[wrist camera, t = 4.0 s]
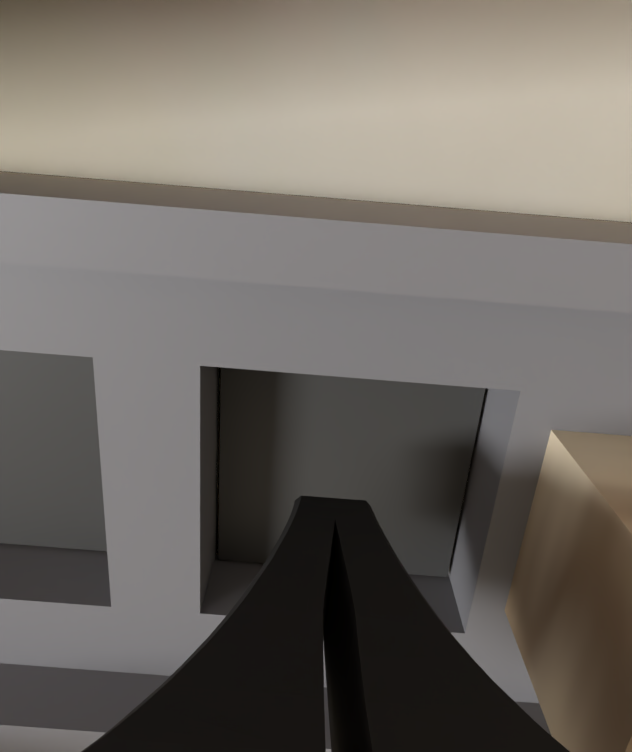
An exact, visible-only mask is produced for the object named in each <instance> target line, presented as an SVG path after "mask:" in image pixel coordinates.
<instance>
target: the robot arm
mask: <svg viewBox="0 0 632 752" xmlns="http://www.w3.org/2000/svg"><path fill="white" fill-rule="evenodd" d="M323 641H324V656H325V670H326V685H327V698H328V712H329V726H330V740H331V752H570V751H569V750H567V749H566V748H565V747H564V746H563V745H562V744H560V743H559V742H558V741H557V740H556V739H555V738H553V737H552V736H551V735H550V734H549V733H547V732H546V731H545V730H544V729H543V728H542V727H541V726H540V725H539V724H538V723H536V722H535V721H534V720H533V719H532V718H531V717H530V716H529V715H528V714H527V713H526V712H525V711H524V710H523V709H522V708H521V707H520V706H519V705H518V704H517V703H516V702H515V701H514V700H512V699H511V698H510V697H509V696H508V695H507V694H506V693H505V692H504V691H503V690H502V689H501V688H500V687H499V686H498V685H497V684H496V683H495V682H494V681H493V680H492V679H491V678H490V677H489V676H488V675H487V674H486V672H485V671H484V670H483V669H482V668H481V667H480V666H479V665H478V664H477V663H476V662H475V661H474V659H473V658H472V657H471V656H470V655H469V654H468V653H467V651H466V650H465V649H464V648H463V647H462V646H461V644H460V643H459V642H458V641H457V640H456V639H455V637H454V636H453V635H452V634H451V632H450V631H449V630H448V629H447V627H446V626H445V625H444V624H443V622H442V621H441V620H440V618H439V617H438V616H437V614H436V613H435V612H434V610H433V609H432V608H431V606H430V605H429V603H428V602H427V601H426V599H425V598H424V597H423V595H422V594H421V592H420V591H419V589H418V588H417V586H416V585H415V584H414V582H413V580H412V579H411V577H410V576H409V574H408V573H407V571H406V569H405V568H404V566H403V565H402V563H401V562H400V560H399V558H398V557H397V555H396V553H395V552H394V550H393V548H392V547H391V545H390V543H389V541H388V540H387V538H386V536H385V534H384V532H383V530H382V528H381V527H380V525H379V523H378V521H377V519H376V516H375V514H374V512H373V510H372V508H371V506H370V505H369V503H368V502H367V501H366V500H353V499H340V498H327V497H314V496H300V497H299V498H297V499H296V500H295V502H294V506H293V509H292V512H291V515H290V517H289V519H288V522H287V524H286V526H285V528H284V530H283V532H282V534H281V536H280V538H279V539H278V541H277V543H276V544H275V546H274V548H273V550H272V551H271V553H270V555H269V556H268V558H267V560H266V561H265V563H264V565H263V566H262V568H261V569H260V571H259V572H258V574H257V575H256V576H255V578H254V579H253V581H252V582H251V583H250V585H249V586H248V588H247V589H246V591H245V592H244V593H243V595H242V596H241V598H240V599H239V600H238V602H237V603H236V604H235V605H234V607H233V608H232V609H231V611H230V612H229V613H228V614H227V616H226V617H225V618H224V619H223V620H222V622H221V623H220V624H219V625H218V626H217V627H216V629H215V630H214V631H213V632H212V633H211V634H210V636H209V637H208V638H207V639H206V640H205V641H204V642H203V643H202V644H201V645H200V646H199V647H198V648H197V649H196V651H195V652H194V653H193V654H192V655H191V656H190V657H189V658H188V659H187V660H186V661H185V662H184V663H183V664H182V665H181V666H180V667H179V668H178V669H177V670H176V671H175V672H174V673H173V674H172V675H171V676H170V677H169V678H168V679H167V680H166V681H165V682H164V683H163V684H162V685H161V686H159V687H158V688H157V689H156V690H155V691H154V692H153V693H151V694H150V695H149V696H148V697H147V698H146V699H145V700H143V701H142V702H141V703H140V704H139V705H138V706H137V707H135V708H134V709H133V710H132V711H131V712H130V713H129V714H127V715H126V716H125V717H124V718H123V719H122V720H121V721H119V722H118V723H117V724H116V725H115V726H114V727H112V728H111V729H110V730H109V731H107V732H106V733H105V734H104V735H102V736H101V737H100V738H99V739H97V740H96V741H95V742H93V743H92V744H91V745H89V746H88V747H87V748H85V749H84V750H83V751H81V752H326V746H325V712H324V662H323Z"/></svg>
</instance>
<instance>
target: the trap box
mask: <svg viewBox="0 0 632 752" xmlns="http://www.w3.org/2000/svg"><path fill="white" fill-rule="evenodd" d="M219 367H221V400H220V467H219V533H218V555H216V538H217V463H218V389H219ZM485 388H486V389H485ZM484 393H485V394H484ZM551 430H560V431H573V432H586V433H599V434H612V435H624V436H632V223H629V222H616V221H604V220H592V219H580V218H567V217H555V216H543V215H530V214H518V213H506V212H494V211H481V210H469V209H457V208H444V207H432V206H420V205H408V204H395V203H383V202H371V201H358V200H346V199H334V198H322V197H309V196H297V195H285V194H272V193H260V192H248V191H236V190H223V189H211V188H199V187H186V186H174V185H162V184H150V183H137V182H125V181H113V180H100V179H88V178H76V177H64V176H51V175H39V174H27V173H14V172H2V171H0V752H81V751H83V750H84V749H85V748H87V747H88V746H89V745H91V744H92V743H93V742H95V741H96V740H97V739H99V738H100V737H101V736H102V735H104V734H105V733H106V732H107V731H109V730H110V729H111V728H112V727H114V726H115V725H116V724H117V723H118V722H119V721H121V720H122V719H123V718H124V717H125V716H126V715H127V714H129V713H130V712H131V711H132V710H133V709H134V708H135V707H137V706H138V705H139V704H140V703H141V702H142V701H143V700H145V699H146V698H147V697H148V696H149V695H150V694H151V693H153V692H154V691H155V690H156V689H157V688H158V687H159V686H161V685H162V684H163V683H164V682H165V681H166V680H167V679H168V678H169V677H170V676H171V675H172V674H173V673H174V672H175V671H176V670H177V669H178V668H179V667H180V666H181V665H182V664H183V663H184V662H185V661H186V660H187V659H188V658H189V657H190V656H191V655H192V654H193V653H194V652H195V651H196V649H197V648H198V647H199V646H200V645H201V644H202V643H203V642H204V641H205V640H206V639H207V638H208V637H209V636H210V634H211V633H212V632H213V631H214V630H215V629H216V627H217V626H218V625H219V624H220V623H221V622H222V620H223V619H224V618H225V617H226V616H227V614H228V613H229V612H230V611H231V609H232V608H233V607H234V605H235V604H236V603H237V602H238V600H239V599H240V598H241V596H242V595H243V593H244V592H245V591H246V589H247V588H248V586H249V585H250V583H251V582H252V581H253V579H254V578H255V576H256V575H257V574H258V572H259V571H260V569H261V568H262V566H263V565H264V563H265V561H266V560H267V558H268V556H269V555H270V553H271V551H272V550H273V548H274V546H275V544H276V543H277V541H278V539H279V538H280V536H281V534H282V532H283V530H284V528H285V526H286V524H287V522H288V519H289V517H290V515H291V512H292V509H293V506H294V502H295V500H296V499H297V498H299V497H300V496H314V497H327V498H340V499H353V500H366V501H367V502H368V503H369V505H370V506H371V508H372V510H373V512H374V514H375V516H376V519H377V521H378V523H379V525H380V527H381V528H382V530H383V532H384V534H385V536H386V538H387V540H388V541H389V543H390V545H391V547H392V548H393V550H394V552H395V553H396V555H397V557H398V558H399V560H400V562H401V563H402V565H403V566H404V568H405V569H406V571H407V573H408V574H409V576H410V577H411V579H412V580H413V582H414V584H415V585H416V586H417V588H418V589H419V591H420V592H421V594H422V595H423V597H424V598H425V599H426V601H427V602H428V603H429V605H430V606H431V608H432V609H433V610H434V612H435V613H436V614H437V616H438V617H439V618H440V620H441V621H442V622H443V624H444V625H445V626H446V627H447V629H448V630H449V631H450V632H451V634H452V635H453V636H454V637H455V639H456V640H457V641H458V642H459V643H460V644H461V646H462V647H463V648H464V649H465V650H466V651H467V653H468V654H469V655H470V656H471V657H472V658H473V659H474V661H475V662H476V663H477V664H478V665H479V666H480V667H481V668H482V669H483V670H484V671H485V672H486V674H487V675H488V676H489V677H490V678H491V679H492V680H493V681H494V682H495V683H496V684H497V685H498V686H499V687H500V688H501V689H502V690H503V691H504V692H505V693H506V694H507V695H508V696H509V697H510V698H511V699H512V700H514V701H515V702H516V703H517V704H518V705H519V706H520V707H521V708H522V709H523V710H524V711H525V712H526V713H527V714H528V715H529V716H530V717H531V718H532V719H533V720H534V721H535V722H536V723H538V724H539V725H540V726H541V727H542V728H543V729H544V730H545V731H546V732H547V733H549V734H550V735H551V733H550V730H549V728H548V725H547V722H546V720H545V717H544V714H543V712H542V709H541V706H540V704H539V701H538V698H537V696H536V693H535V690H534V688H533V685H532V682H531V680H530V677H529V674H528V672H527V669H526V666H525V664H524V661H523V658H522V656H521V653H520V650H519V648H518V645H517V642H516V640H515V637H514V634H513V632H512V629H511V626H510V624H509V621H508V618H507V616H506V613H505V607H506V603H507V599H508V595H509V591H510V587H511V583H512V579H513V576H514V572H515V568H516V564H517V560H518V556H519V552H520V548H521V545H522V541H523V537H524V533H525V529H526V525H527V521H528V518H529V514H530V510H531V506H532V502H533V498H534V494H535V490H536V487H537V483H538V479H539V475H540V471H541V467H542V463H543V459H544V456H545V452H546V448H547V444H548V440H549V436H550V432H551ZM476 432H477V433H476ZM475 437H476V438H475ZM474 442H475V443H474ZM473 447H474V448H473ZM465 486H466V487H465ZM464 491H465V492H464ZM463 496H464V497H463ZM454 540H455V541H454ZM453 545H454V546H453ZM452 550H453V551H452ZM323 662H324V712H325V746H326V752H331V740H330V726H329V712H328V698H327V685H326V670H325V656H324V641H323Z"/></svg>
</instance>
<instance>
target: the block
mask: <svg viewBox="0 0 632 752" xmlns="http://www.w3.org/2000/svg"><path fill="white" fill-rule="evenodd" d="M505 613H506V616H507V618H508V621H509V624H510V626H511V629H512V632H513V634H514V637H515V640H516V642H517V645H518V648H519V650H520V653H521V656H522V658H523V661H524V664H525V666H526V669H527V672H528V674H529V677H530V680H531V682H532V685H533V688H534V690H535V693H536V696H537V698H538V701H539V704H540V706H541V709H542V712H543V714H544V717H545V720H546V722H547V725H548V728H549V730H550V733H551V736H552V737H553V738H555V739H556V740H557V741H558V742H559V743H560V744H562V745H563V746H564V747H565V748H566V749H567V750H569V751H570V752H632V436H624V435H612V434H599V433H586V432H573V431H560V430H551V432H550V436H549V440H548V444H547V448H546V452H545V456H544V459H543V463H542V467H541V471H540V475H539V479H538V483H537V487H536V490H535V494H534V498H533V502H532V506H531V510H530V514H529V518H528V521H527V525H526V529H525V533H524V537H523V541H522V545H521V548H520V552H519V556H518V560H517V564H516V568H515V572H514V576H513V579H512V583H511V587H510V591H509V595H508V599H507V603H506V607H505Z"/></svg>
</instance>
